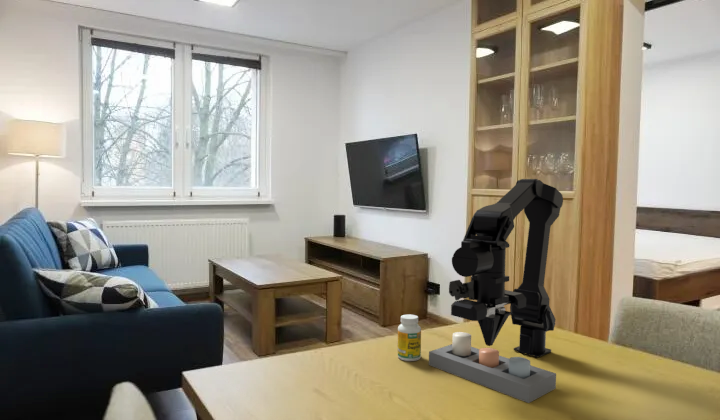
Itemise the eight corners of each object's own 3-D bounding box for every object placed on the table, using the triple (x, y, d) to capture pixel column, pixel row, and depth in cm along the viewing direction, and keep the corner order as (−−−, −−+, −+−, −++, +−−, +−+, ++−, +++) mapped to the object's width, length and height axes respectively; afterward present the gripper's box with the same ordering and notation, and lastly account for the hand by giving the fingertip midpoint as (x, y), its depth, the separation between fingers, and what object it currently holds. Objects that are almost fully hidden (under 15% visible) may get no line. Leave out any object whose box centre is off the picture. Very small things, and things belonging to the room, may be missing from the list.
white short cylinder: (459, 348, 107) (460, 330, 107) (474, 353, 104) (475, 335, 104) (448, 352, 104) (448, 334, 104) (463, 357, 101) (463, 338, 101)
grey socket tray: (457, 354, 111) (457, 342, 111) (555, 388, 93) (556, 373, 93) (428, 364, 105) (429, 351, 105) (528, 403, 87) (529, 386, 86)
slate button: (515, 374, 96) (515, 355, 96) (533, 381, 93) (534, 361, 93) (504, 379, 94) (504, 359, 94) (522, 386, 91) (523, 365, 91)
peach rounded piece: (486, 364, 102) (486, 346, 102) (502, 370, 99) (502, 351, 99) (474, 369, 99) (475, 350, 99) (491, 375, 96) (491, 355, 96)
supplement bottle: (410, 352, 113) (411, 312, 113) (425, 358, 109) (426, 317, 108) (392, 356, 110) (393, 315, 110) (407, 363, 106) (407, 320, 105)
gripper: (484, 261, 110) (482, 328, 111) (430, 270, 98) (429, 344, 99) (528, 268, 102) (526, 340, 102) (475, 278, 89) (474, 359, 90)
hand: (488, 345), depth 99 cm, fingers closed
